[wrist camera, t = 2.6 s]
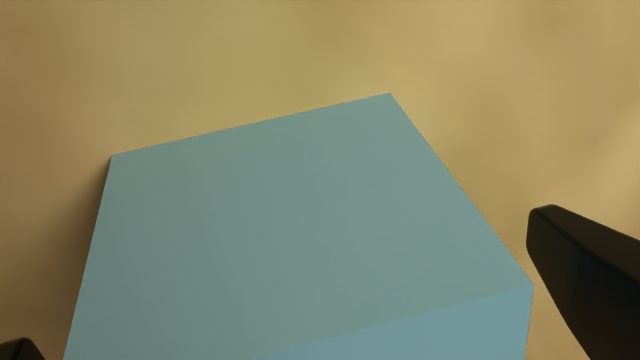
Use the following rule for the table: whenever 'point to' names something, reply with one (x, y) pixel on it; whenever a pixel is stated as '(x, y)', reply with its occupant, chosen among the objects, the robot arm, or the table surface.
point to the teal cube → (297, 249)
